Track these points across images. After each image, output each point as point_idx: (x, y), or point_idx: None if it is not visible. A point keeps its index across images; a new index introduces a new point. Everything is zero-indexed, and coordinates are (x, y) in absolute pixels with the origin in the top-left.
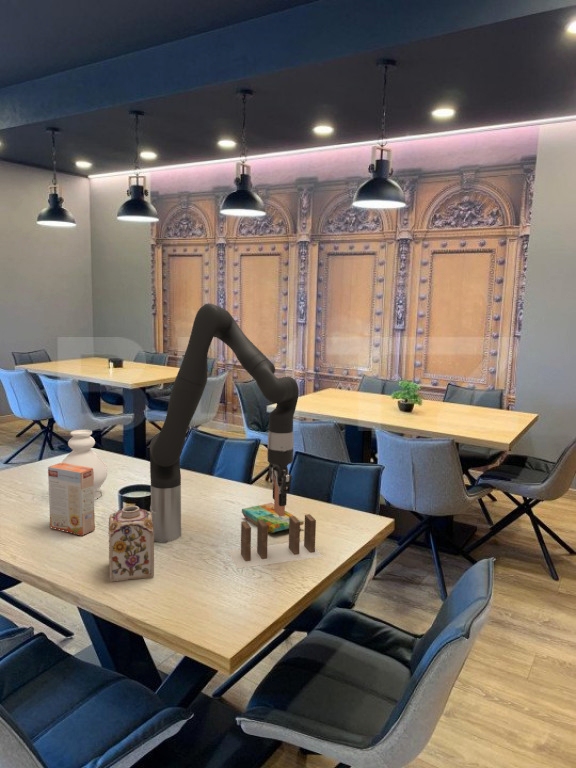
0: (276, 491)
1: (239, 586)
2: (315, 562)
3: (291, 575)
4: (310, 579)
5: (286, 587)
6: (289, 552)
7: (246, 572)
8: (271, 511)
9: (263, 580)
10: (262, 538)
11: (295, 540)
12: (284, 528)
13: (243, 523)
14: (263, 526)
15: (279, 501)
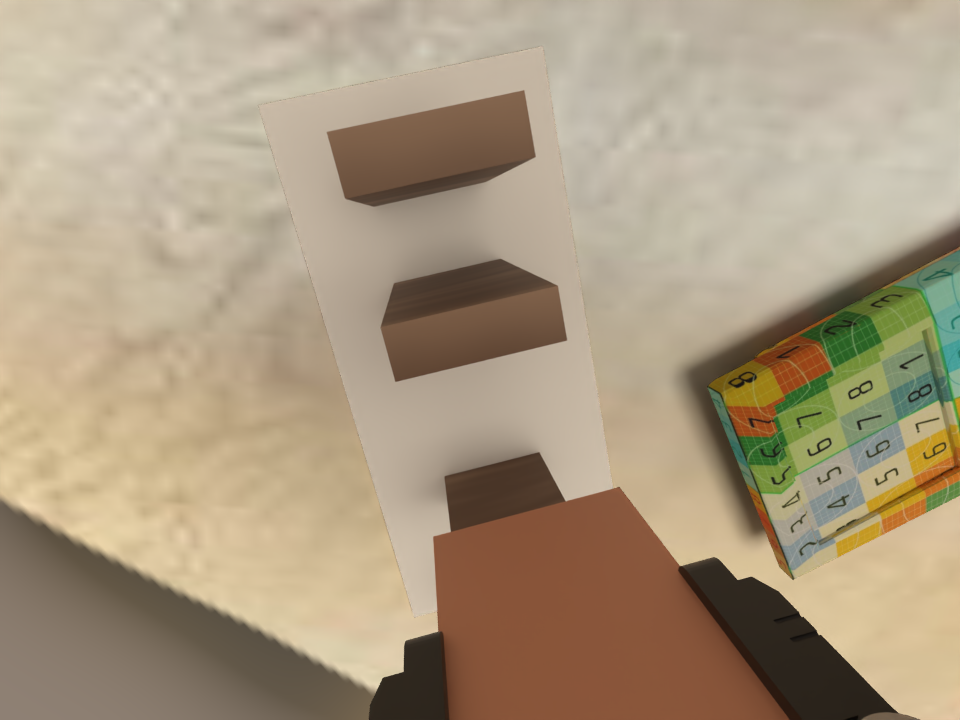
0: None
1: (15, 107)
2: (361, 572)
3: (197, 440)
4: (155, 534)
5: (41, 403)
6: (476, 452)
7: (224, 169)
8: None
9: (118, 274)
10: (386, 307)
11: (451, 530)
12: (737, 458)
13: (469, 115)
14: (383, 337)
15: (406, 697)
